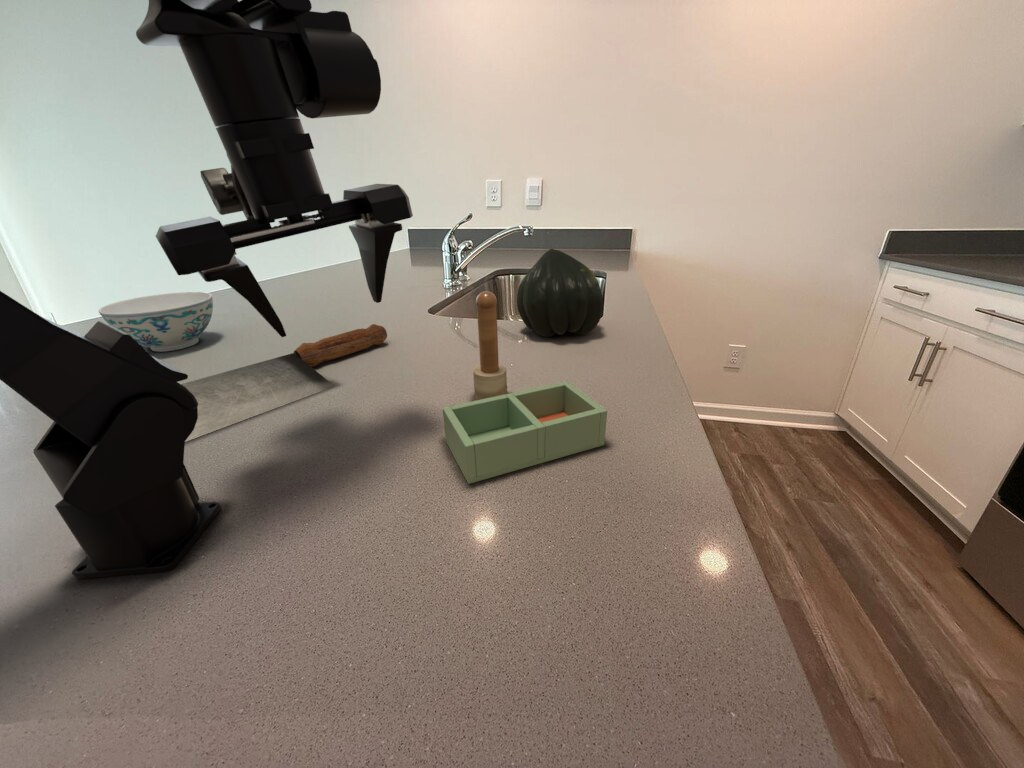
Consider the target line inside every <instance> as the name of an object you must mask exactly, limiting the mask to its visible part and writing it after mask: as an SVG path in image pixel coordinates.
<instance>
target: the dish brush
mask: <svg viewBox="0 0 1024 768" xmlns="http://www.w3.org/2000/svg"><path fill="white" fill-rule="evenodd" d="M475 305H476V314H477V330H478V331H477V332H478V348H479V349H478V350H479V365H476V366H475V367H474V368H473V370H472V375H473V390H474V391H473V392H474V401H476V400H481V399H486V398H491V397H495V396H500V395H506V394H508V382H507V381H508V380H507V368H506V366H505V365H503V364H500V361H499V337H498V309H497V307H498V298H497V297H496V295H495V294H494V293H493V292H491V291H487V290H484V291H482V292H480V293H479V294H478V295H477V296H476V299H475Z"/></svg>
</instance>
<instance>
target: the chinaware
mask: <svg viewBox="0 0 1024 768" xmlns="http://www.w3.org/2000/svg"><path fill="white" fill-rule="evenodd" d="M213 311H214V299H213V295H212V294H211V293H209V292H203V291H181V292H169V293H160V294H152V295H146V296H139V297H134V298H128V299H124V300H120V301H115V302H113V303H109V304H107V305H104V306H102V307H100V308H99V309H98V313H99V315H100V316H101V318H102V319H103V320H104V322H106V324H108V325H110V326H112V327H114V328H116V329H118V330H120V331H122V332H124V333H126V334H128V335H130V336H131V337H132V338H133V339H134V340H135V341H136V342H138V343H139V344H140V345H144V346H149V348H150V350H151V351H152V352H157V353H158V352H159V353H160V352H161V353H163V352H171V351H177V350H181V349H182V350H183V349H185V348H190V347H192V346H194V345H196V344H197V343H199V336H200V335H202V333H203V332H204V331H205V330H206V329H207V327H208V326H209V324H210V322H211V319H212V316H213Z"/></svg>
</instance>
